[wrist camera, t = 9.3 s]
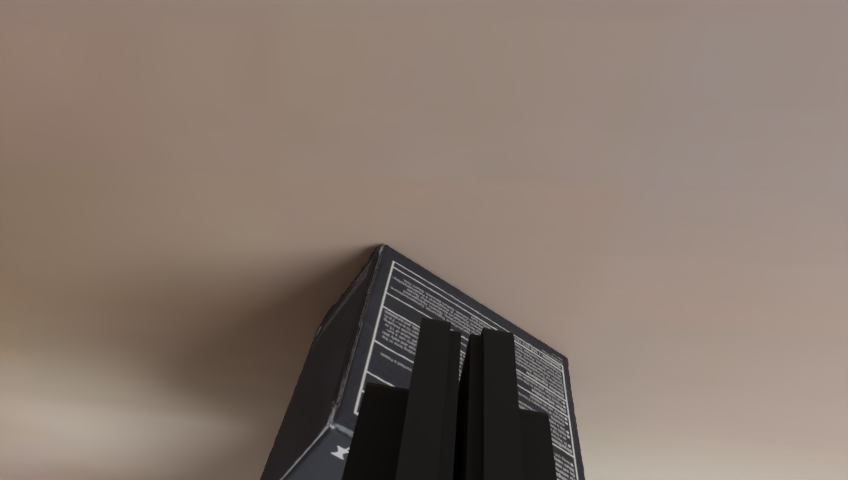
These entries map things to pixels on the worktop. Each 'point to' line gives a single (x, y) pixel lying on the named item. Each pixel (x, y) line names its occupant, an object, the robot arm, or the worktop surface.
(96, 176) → the worktop surface
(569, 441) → the small box
